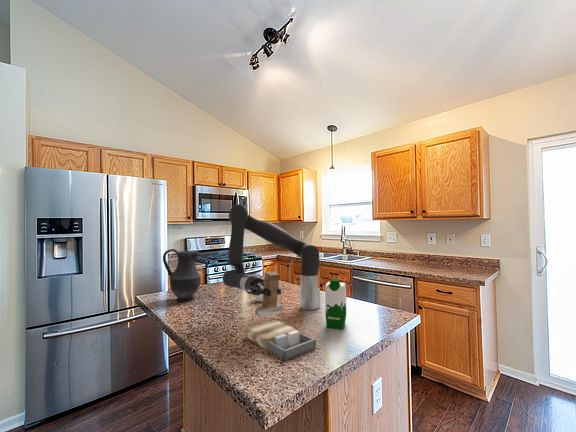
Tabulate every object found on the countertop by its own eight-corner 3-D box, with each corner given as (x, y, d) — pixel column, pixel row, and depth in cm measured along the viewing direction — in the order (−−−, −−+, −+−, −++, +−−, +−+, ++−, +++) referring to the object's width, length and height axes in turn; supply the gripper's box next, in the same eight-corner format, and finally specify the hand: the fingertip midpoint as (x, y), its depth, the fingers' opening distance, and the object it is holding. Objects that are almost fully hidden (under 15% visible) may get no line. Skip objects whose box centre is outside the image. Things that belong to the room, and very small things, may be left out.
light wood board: (246, 336, 105) (246, 327, 105) (275, 328, 114) (275, 319, 114) (266, 349, 94) (266, 339, 94) (297, 338, 103) (297, 329, 103)
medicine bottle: (272, 299, 158) (272, 278, 159) (266, 302, 152) (266, 280, 152) (262, 297, 161) (262, 277, 162) (255, 300, 155) (255, 279, 155)
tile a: (287, 332, 97) (290, 334, 96) (295, 330, 100) (299, 331, 98) (287, 344, 97) (291, 345, 96) (295, 341, 100) (299, 342, 98)
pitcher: (200, 302, 151) (200, 249, 152) (159, 306, 145) (160, 250, 146) (201, 295, 168) (201, 247, 169) (164, 298, 162) (165, 248, 163)
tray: (267, 350, 94) (267, 341, 94) (297, 339, 103) (297, 331, 103) (284, 360, 86) (284, 351, 86) (315, 348, 95) (315, 339, 95)
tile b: (274, 336, 94) (278, 338, 93) (283, 333, 97) (287, 335, 95) (274, 348, 94) (278, 350, 93) (283, 345, 97) (287, 346, 95)
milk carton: (323, 328, 113) (323, 280, 114) (327, 320, 122) (327, 276, 123) (345, 330, 111) (344, 281, 111) (347, 323, 119) (347, 277, 120)
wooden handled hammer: (255, 313, 104) (258, 273, 103) (276, 308, 110) (279, 270, 109) (260, 318, 101) (264, 276, 100) (282, 312, 107) (285, 273, 106)
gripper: (237, 277, 111) (259, 285, 98) (265, 273, 120) (290, 280, 107) (237, 296, 111) (259, 306, 98) (265, 290, 120) (289, 299, 107)
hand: (275, 292), depth 102 cm, fingers closed on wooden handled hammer, 4 cm apart
